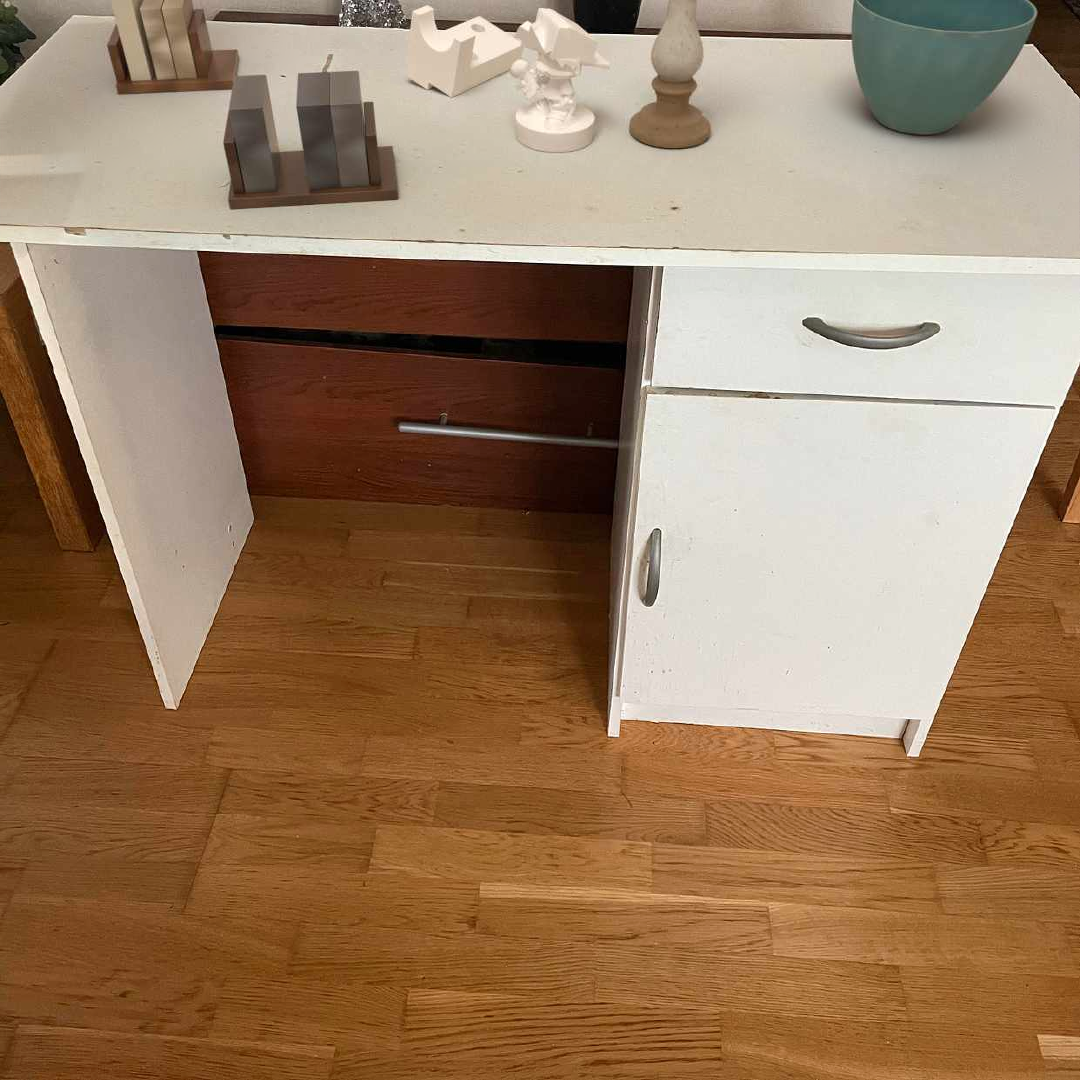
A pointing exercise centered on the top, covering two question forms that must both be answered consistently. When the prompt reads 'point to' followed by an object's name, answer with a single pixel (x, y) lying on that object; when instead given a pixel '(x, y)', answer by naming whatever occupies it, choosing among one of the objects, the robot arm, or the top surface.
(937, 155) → the top surface
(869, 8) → the plant pot
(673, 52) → the candle holder
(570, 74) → the character figurine
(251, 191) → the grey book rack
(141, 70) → the cream book
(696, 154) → the top surface
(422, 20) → the bracket
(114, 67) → the brown book rack
